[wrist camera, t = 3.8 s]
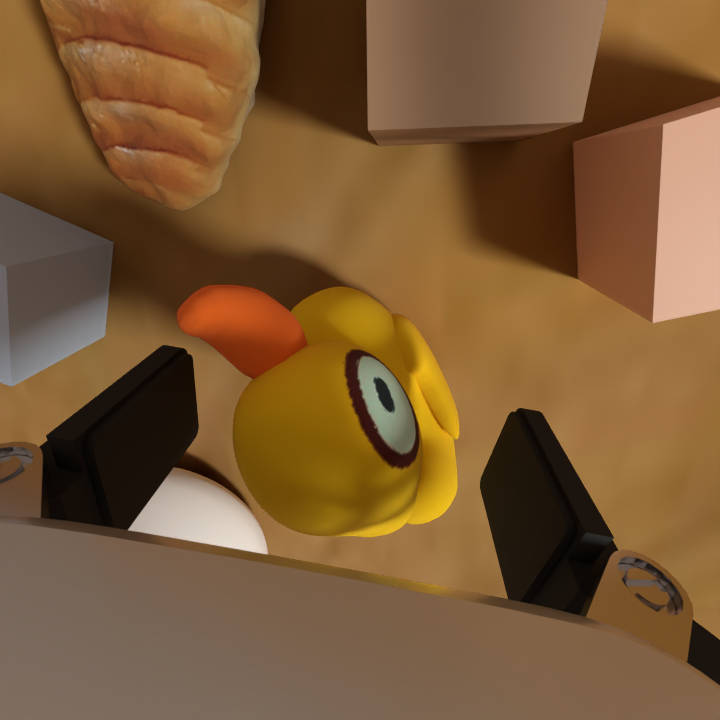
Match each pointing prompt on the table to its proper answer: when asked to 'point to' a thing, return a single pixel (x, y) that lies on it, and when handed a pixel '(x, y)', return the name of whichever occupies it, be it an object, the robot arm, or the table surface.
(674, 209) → the block terracotta
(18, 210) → the block slate
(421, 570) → the table surface
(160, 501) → the flower in vase
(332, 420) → the duckling
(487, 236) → the table surface
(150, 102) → the pastry
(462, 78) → the block walnut
